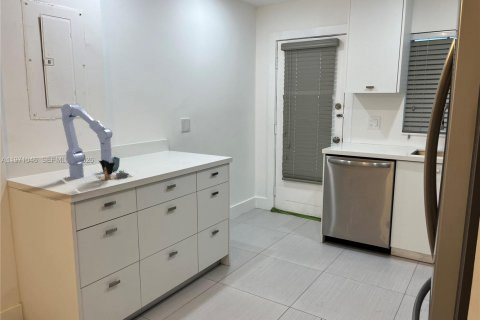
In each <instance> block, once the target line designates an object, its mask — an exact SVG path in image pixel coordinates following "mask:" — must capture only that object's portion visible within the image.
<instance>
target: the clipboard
mask: <svg viewBox="0 0 480 320" xmlns="http://www.w3.org/2000/svg"><path fill="white" fill-rule="evenodd" d="M126 173H127V175H128V178H133V177H134V176H133V175H130V174H129V173H128V172H126ZM95 178H97V179H99V180H100V181H103V182H105V181H107V180H105V174H104V175H98V176H95ZM120 179H122V178H120ZM120 179H119V178H117V177H116V173H112V174H111V179H110V180H109V181H113V180H120Z"/></svg>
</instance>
